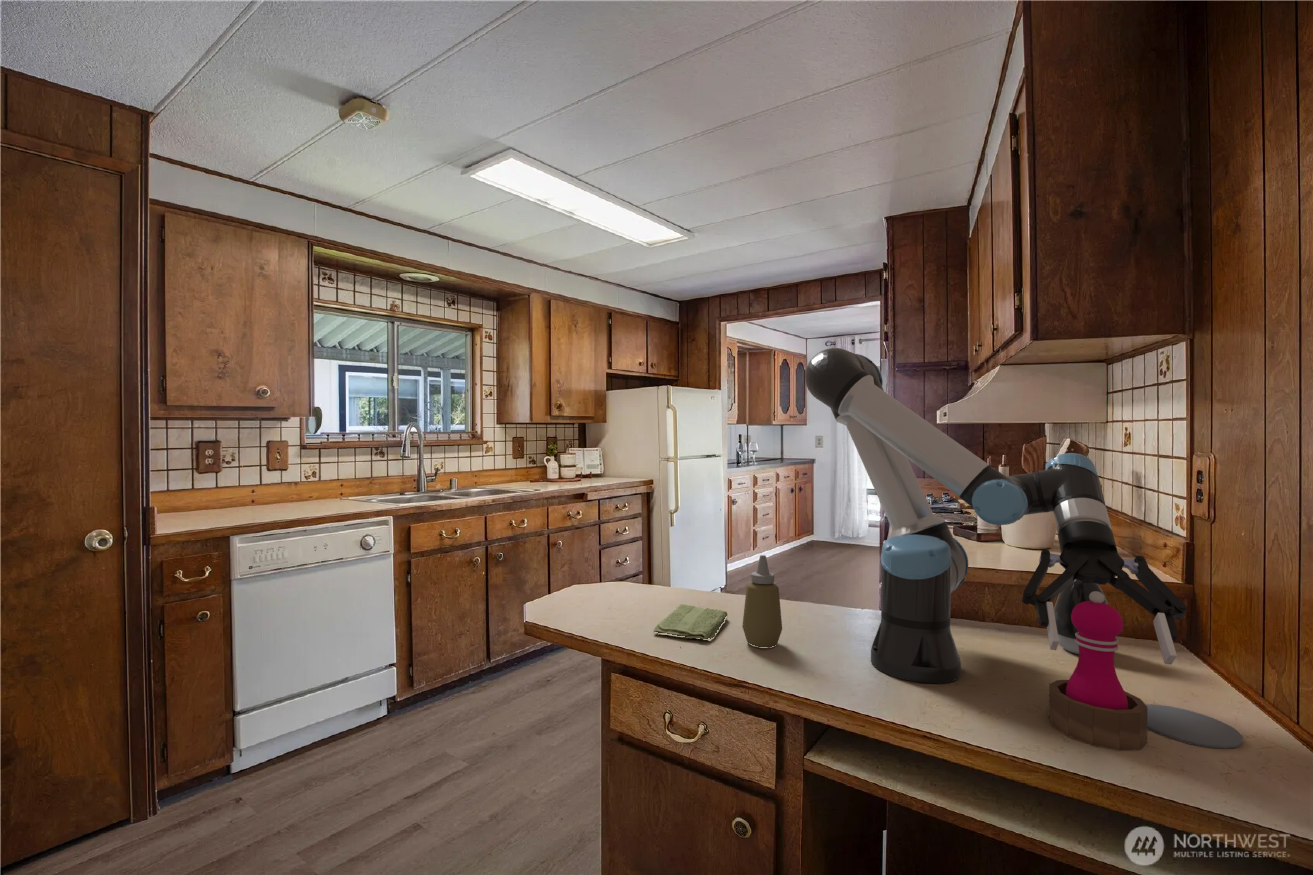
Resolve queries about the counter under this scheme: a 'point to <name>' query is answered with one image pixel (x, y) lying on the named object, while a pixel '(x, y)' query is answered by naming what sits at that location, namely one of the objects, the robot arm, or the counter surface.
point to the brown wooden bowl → (1098, 720)
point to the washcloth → (692, 622)
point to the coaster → (1192, 727)
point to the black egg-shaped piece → (1064, 608)
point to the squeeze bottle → (762, 608)
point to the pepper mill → (1096, 655)
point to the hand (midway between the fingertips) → (1110, 652)
